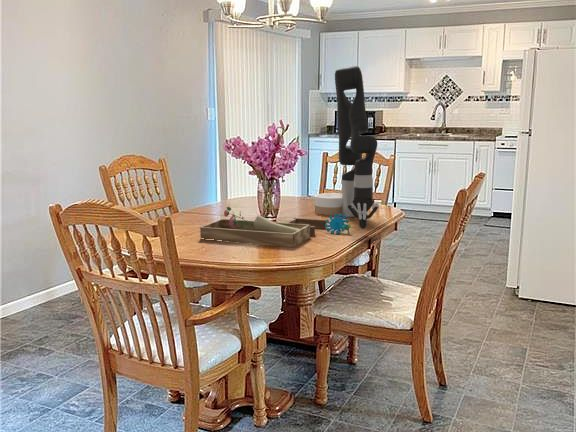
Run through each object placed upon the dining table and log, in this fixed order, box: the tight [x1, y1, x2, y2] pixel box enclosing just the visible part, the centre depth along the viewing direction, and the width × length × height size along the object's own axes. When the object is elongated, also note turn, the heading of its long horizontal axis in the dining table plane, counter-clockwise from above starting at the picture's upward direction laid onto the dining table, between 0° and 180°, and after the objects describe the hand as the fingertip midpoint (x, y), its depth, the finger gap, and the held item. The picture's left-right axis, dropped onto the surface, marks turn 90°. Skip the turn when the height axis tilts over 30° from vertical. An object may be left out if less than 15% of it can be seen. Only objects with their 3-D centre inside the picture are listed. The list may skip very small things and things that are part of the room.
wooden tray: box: [199, 218, 311, 248], centre depth 230 cm, size 18×40×5 cm, turn 68°
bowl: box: [314, 192, 342, 216], centre depth 285 cm, size 17×17×8 cm
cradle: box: [285, 217, 327, 236], centre depth 243 cm, size 16×14×4 cm
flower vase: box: [223, 203, 299, 233], centre depth 231 cm, size 12×12×35 cm
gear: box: [324, 213, 351, 235], centre depth 239 cm, size 11×6×10 cm
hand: (363, 228), depth 233 cm, fingers closed
